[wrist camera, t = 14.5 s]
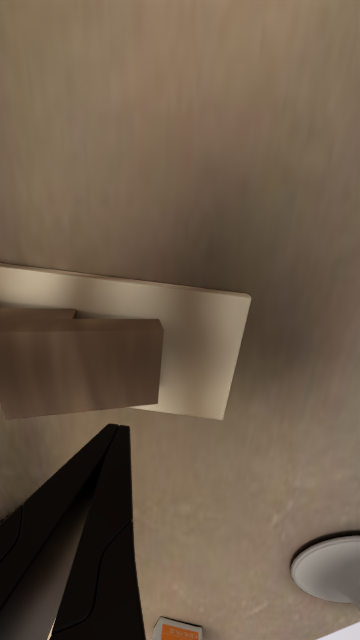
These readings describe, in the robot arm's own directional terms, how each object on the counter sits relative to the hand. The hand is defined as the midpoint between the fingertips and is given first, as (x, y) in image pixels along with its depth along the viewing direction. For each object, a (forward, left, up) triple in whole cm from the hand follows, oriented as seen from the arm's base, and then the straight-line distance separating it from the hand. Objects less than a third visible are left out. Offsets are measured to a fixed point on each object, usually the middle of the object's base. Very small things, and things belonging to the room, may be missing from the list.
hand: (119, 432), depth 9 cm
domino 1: (0, -1, -5) cm, 5 cm away
